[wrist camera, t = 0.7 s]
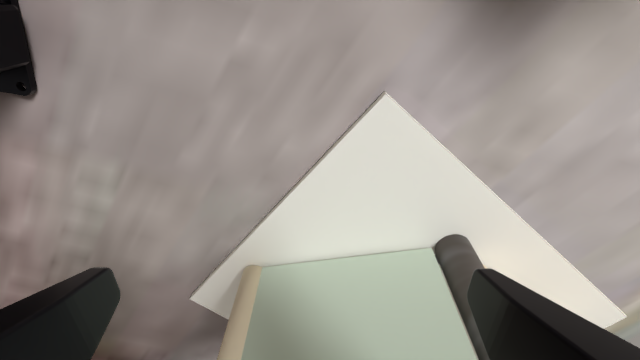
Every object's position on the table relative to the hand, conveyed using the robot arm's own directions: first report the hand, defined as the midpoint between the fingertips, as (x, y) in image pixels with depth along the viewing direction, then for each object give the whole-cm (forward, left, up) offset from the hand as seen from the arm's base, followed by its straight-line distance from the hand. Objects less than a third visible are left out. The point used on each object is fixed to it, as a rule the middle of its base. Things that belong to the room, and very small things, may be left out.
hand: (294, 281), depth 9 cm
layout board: (+10, -14, -13) cm, 21 cm away
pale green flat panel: (+3, -10, -12) cm, 16 cm away
